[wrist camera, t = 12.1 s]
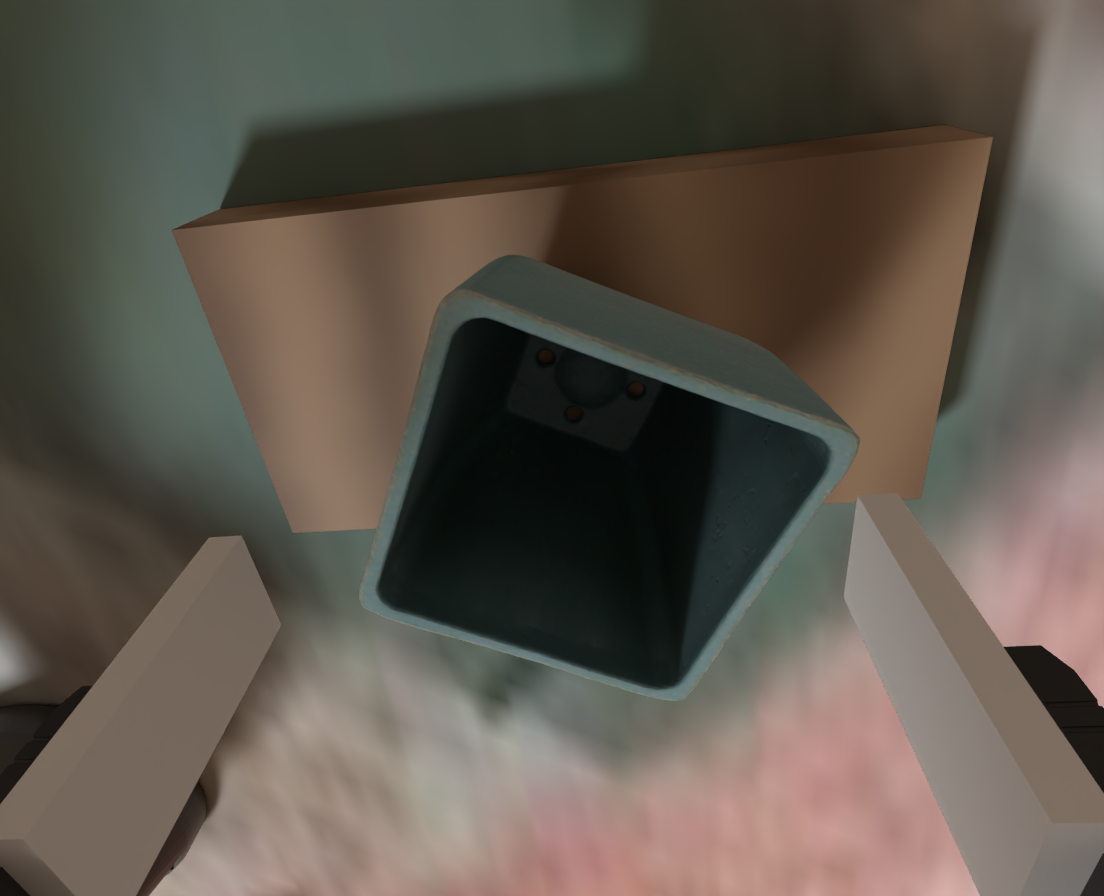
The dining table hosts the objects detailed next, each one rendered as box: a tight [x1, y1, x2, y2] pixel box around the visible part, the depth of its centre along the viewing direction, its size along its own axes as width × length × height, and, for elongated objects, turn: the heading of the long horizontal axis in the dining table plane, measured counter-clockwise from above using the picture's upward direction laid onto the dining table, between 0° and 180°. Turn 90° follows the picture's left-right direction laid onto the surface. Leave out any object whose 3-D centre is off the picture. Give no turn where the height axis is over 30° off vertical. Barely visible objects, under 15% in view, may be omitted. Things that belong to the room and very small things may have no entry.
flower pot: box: [359, 255, 860, 701], centre depth 19 cm, size 9×9×9 cm
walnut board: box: [172, 125, 993, 533], centre depth 24 cm, size 24×12×3 cm, turn 97°
